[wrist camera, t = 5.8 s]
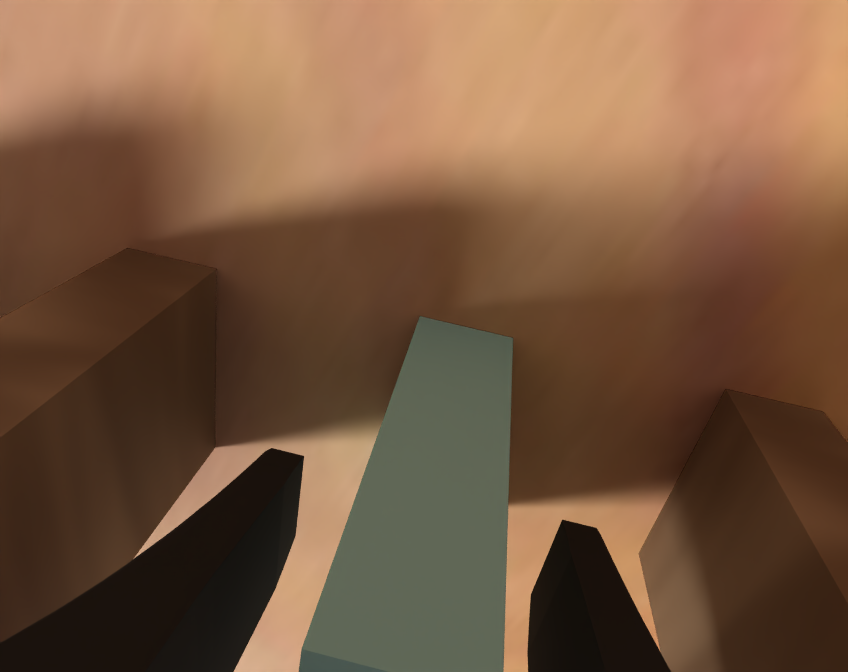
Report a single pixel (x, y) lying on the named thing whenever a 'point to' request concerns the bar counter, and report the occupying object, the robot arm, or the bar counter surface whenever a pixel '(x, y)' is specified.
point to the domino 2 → (427, 520)
